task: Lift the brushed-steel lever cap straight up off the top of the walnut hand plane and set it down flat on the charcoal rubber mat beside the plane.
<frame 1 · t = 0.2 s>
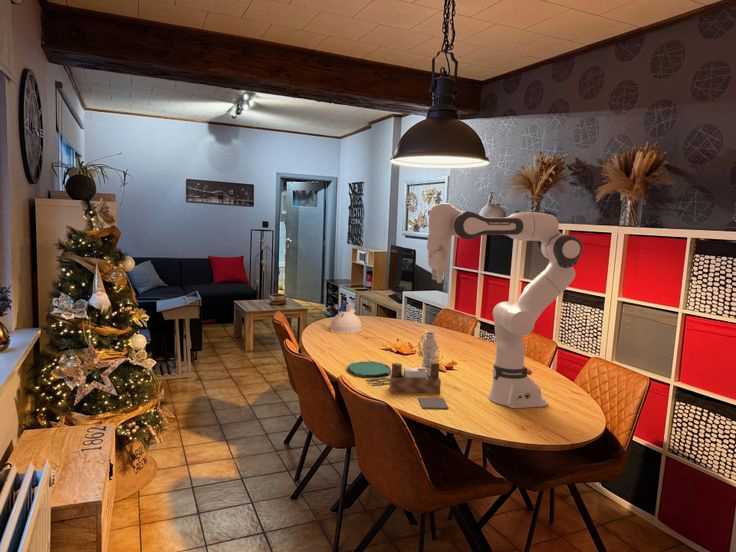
hand: (436, 281, 195), 47 cm above the table, tool pointing down, fingers open, 8 cm apart
lever cap: (415, 376, 208), point 6 cm above the table, touching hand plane
rubber mat: (433, 404, 194), on the table
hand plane: (414, 390, 209), on the table
plastic bottle: (427, 376, 228), on the table
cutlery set: (373, 376, 228), on the table
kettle: (346, 330, 315), on the table
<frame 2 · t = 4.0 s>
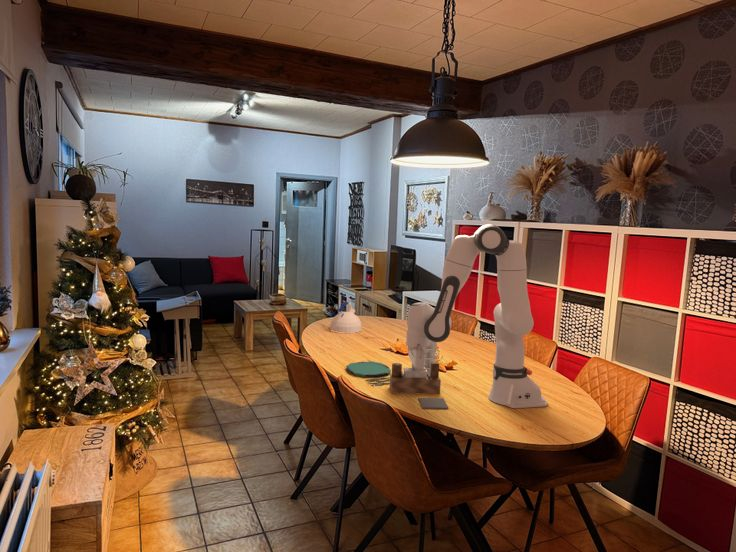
hand: (415, 373, 208), 7 cm above the table, tool pointing down, fingers closed on lever cap, 4 cm apart
lever cap: (415, 376, 208), point 6 cm above the table, touching gripper, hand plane
everything else where it was.
when the fingers open (3 cm above the table, at t = 11.4 s): lever cap drops 2 cm, resting on rubber mat.
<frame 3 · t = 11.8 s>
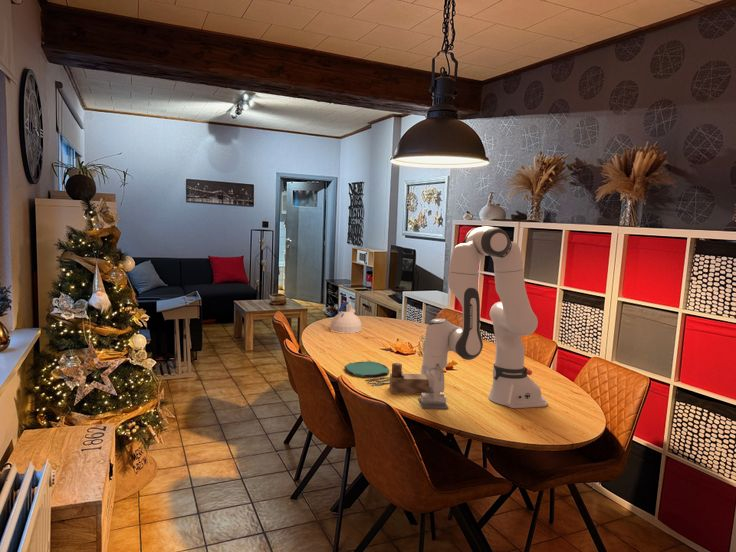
hand: (433, 395, 194), 3 cm above the table, tool pointing down, fingers open, 8 cm apart
lever cap: (433, 402, 194), point 1 cm above the table, touching rubber mat
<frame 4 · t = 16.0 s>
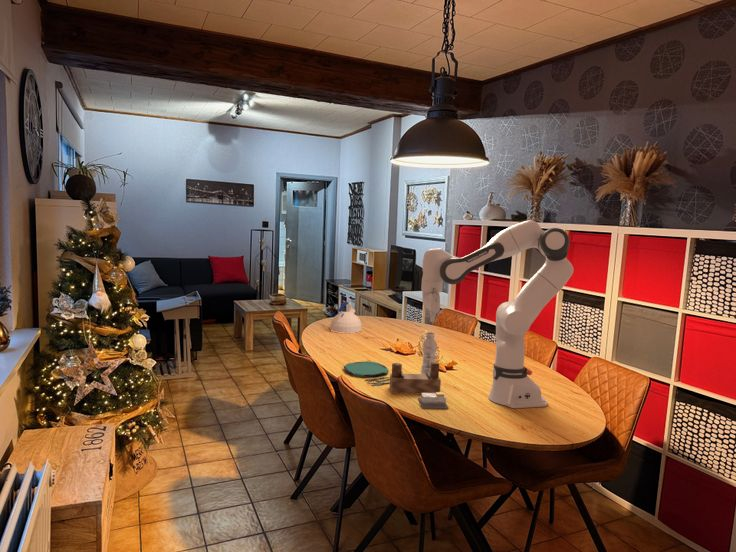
hand: (430, 319, 211), 29 cm above the table, tool pointing down, fingers open, 8 cm apart
at the end: lever cap inside the target area on the rubber mat (0.0 cm from its centre), point 0.6 cm above the rubber mat's base; lever cap tilted 0°; the gripper is holding nothing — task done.
